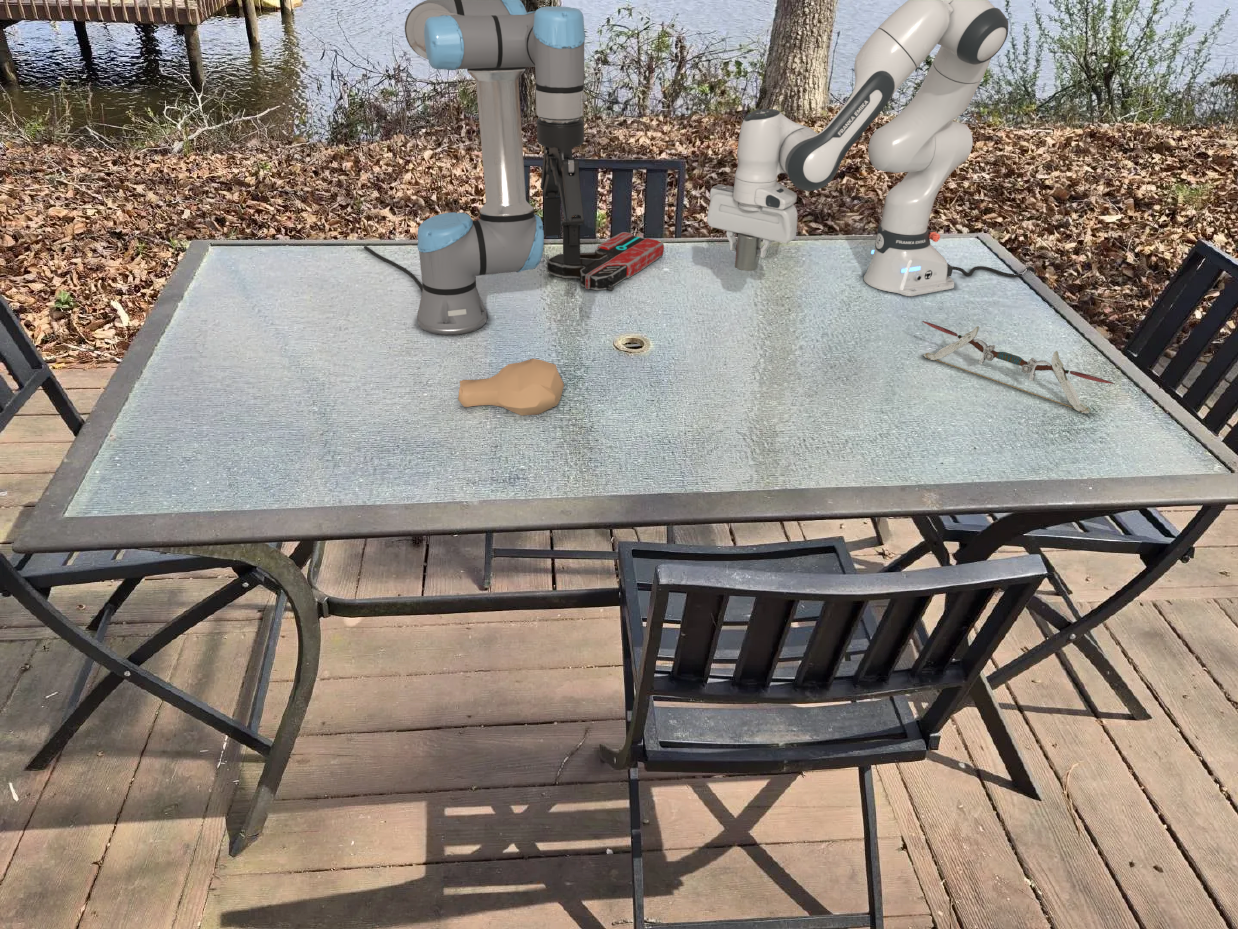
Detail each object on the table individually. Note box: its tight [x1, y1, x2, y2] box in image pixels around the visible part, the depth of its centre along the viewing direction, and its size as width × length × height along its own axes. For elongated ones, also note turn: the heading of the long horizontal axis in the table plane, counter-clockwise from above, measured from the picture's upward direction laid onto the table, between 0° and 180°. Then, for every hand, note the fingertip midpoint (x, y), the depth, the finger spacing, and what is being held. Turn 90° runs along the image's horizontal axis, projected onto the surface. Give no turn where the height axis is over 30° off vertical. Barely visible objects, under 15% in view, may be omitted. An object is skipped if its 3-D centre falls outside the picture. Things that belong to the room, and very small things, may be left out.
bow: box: [921, 320, 1114, 414], centre depth 176 cm, size 39×2×10 cm, turn 47°
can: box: [734, 233, 762, 272], centre depth 193 cm, size 5×5×8 cm
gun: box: [546, 231, 665, 292], centre depth 225 cm, size 4×31×19 cm
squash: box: [457, 358, 565, 416], centre depth 164 cm, size 11×20×9 cm, turn 90°
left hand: (561, 248), depth 150 cm, fingers open, 13 cm apart
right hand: (747, 253), depth 194 cm, fingers closed on can, 5 cm apart
